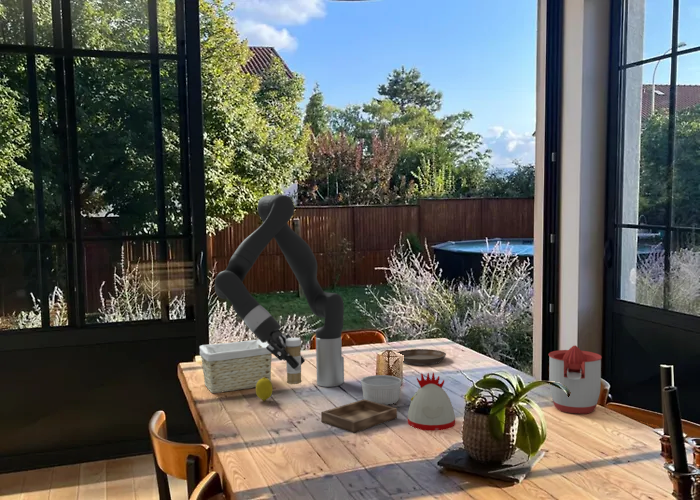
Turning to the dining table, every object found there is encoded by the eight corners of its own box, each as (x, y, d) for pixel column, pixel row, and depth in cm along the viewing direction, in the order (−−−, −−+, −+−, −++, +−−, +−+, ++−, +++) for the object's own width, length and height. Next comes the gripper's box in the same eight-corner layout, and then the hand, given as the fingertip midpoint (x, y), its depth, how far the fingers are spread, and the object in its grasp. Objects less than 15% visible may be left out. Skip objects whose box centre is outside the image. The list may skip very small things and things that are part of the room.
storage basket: (208, 395, 225) (206, 353, 224) (199, 384, 240) (198, 344, 239) (274, 386, 234) (273, 346, 233) (262, 376, 249) (261, 338, 248)
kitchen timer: (406, 415, 199) (406, 367, 198) (451, 415, 199) (451, 366, 198) (409, 431, 185) (408, 379, 184) (457, 430, 185) (457, 378, 184)
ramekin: (409, 400, 215) (409, 379, 215) (384, 409, 206) (383, 387, 205) (379, 392, 224) (378, 372, 224) (353, 401, 215) (352, 380, 214)
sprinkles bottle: (298, 380, 200) (297, 336, 199) (303, 383, 196) (303, 339, 195) (284, 381, 198) (283, 338, 197) (289, 385, 194) (288, 340, 193)
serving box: (364, 408, 207) (364, 399, 207) (397, 418, 197) (396, 408, 196) (321, 421, 194) (321, 412, 194) (354, 433, 184) (353, 422, 184)
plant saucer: (397, 355, 282) (397, 347, 282) (445, 356, 279) (445, 348, 279) (394, 366, 261) (394, 358, 261) (446, 367, 259) (446, 359, 259)
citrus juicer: (546, 415, 196) (546, 350, 195) (549, 399, 213) (549, 339, 212) (602, 420, 191) (602, 353, 190) (601, 403, 207) (601, 341, 206)
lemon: (269, 403, 214) (269, 379, 213) (253, 403, 215) (253, 379, 214) (274, 398, 219) (274, 375, 218) (259, 398, 220) (258, 374, 220)
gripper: (259, 319, 191) (299, 362, 188) (278, 311, 204) (316, 351, 202) (243, 336, 193) (282, 379, 190) (263, 327, 206) (300, 367, 204)
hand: (299, 364), depth 196 cm, fingers closed on sprinkles bottle, 4 cm apart
